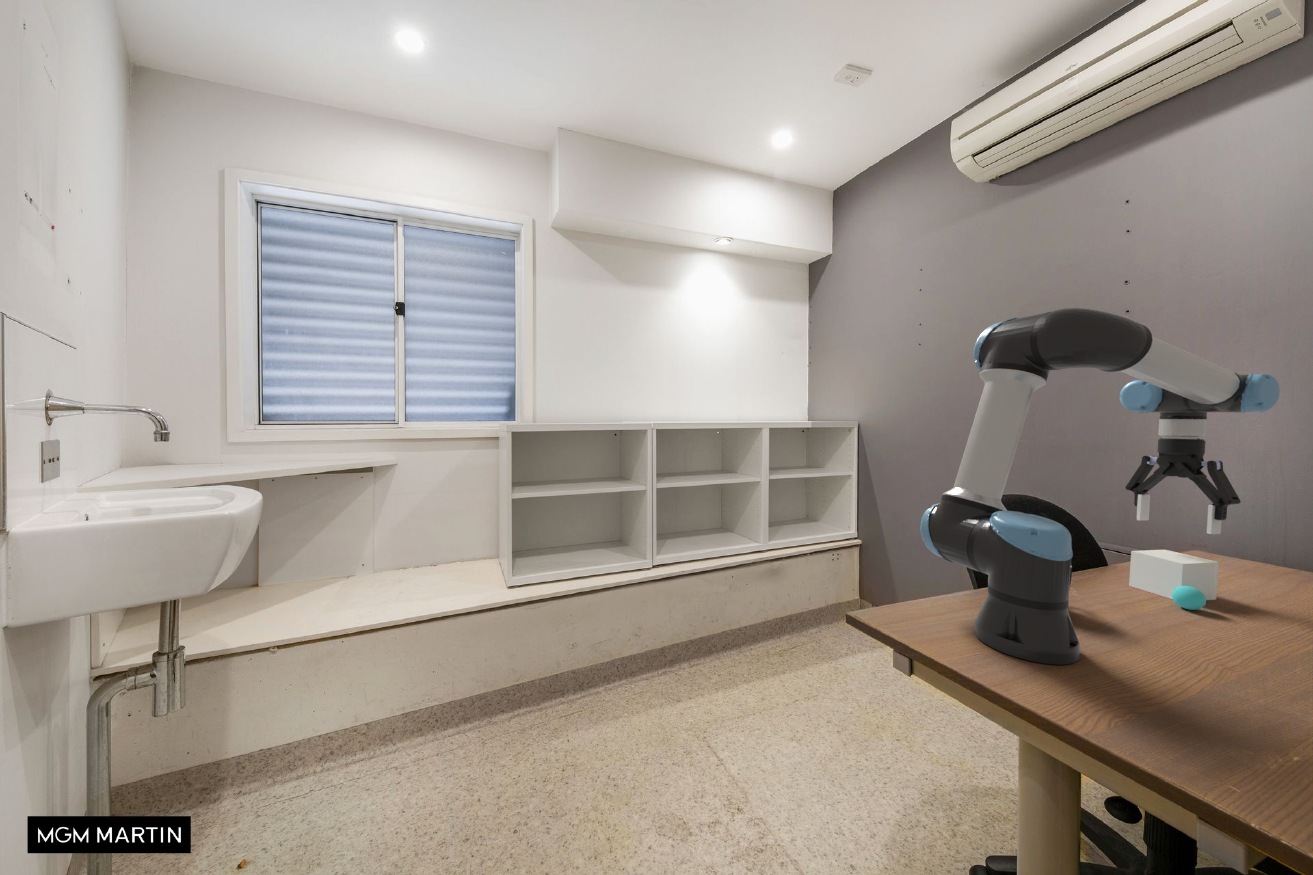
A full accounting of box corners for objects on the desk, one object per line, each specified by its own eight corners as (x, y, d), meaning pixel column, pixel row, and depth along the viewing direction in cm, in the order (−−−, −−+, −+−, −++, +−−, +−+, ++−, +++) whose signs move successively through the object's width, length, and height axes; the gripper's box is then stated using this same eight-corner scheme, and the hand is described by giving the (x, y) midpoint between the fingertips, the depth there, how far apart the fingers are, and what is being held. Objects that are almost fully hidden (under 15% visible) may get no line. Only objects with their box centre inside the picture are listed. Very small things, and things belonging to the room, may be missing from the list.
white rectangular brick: (1180, 601, 108) (1182, 563, 107) (1129, 585, 118) (1131, 550, 117) (1216, 599, 109) (1218, 562, 109) (1162, 583, 119) (1164, 549, 119)
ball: (1184, 612, 102) (1186, 589, 101) (1164, 603, 107) (1165, 581, 106) (1212, 614, 101) (1214, 591, 100) (1191, 605, 106) (1192, 583, 105)
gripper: (1269, 440, 100) (1262, 539, 101) (1133, 435, 124) (1129, 514, 126) (1241, 440, 99) (1234, 540, 100) (1109, 435, 123) (1105, 515, 124)
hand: (1176, 526), depth 113 cm, fingers open, 13 cm apart
